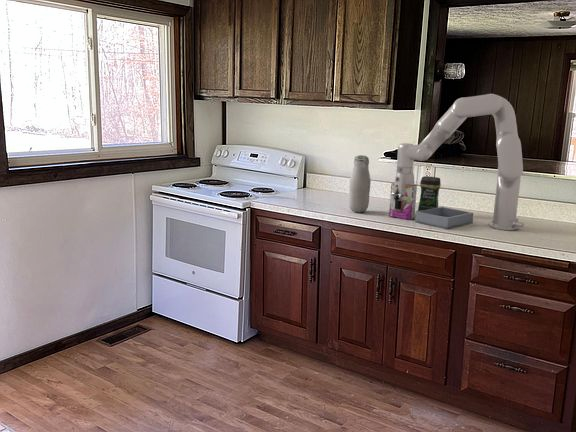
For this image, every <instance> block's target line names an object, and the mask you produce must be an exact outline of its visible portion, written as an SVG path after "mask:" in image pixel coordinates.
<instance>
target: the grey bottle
mask: <svg viewBox="0 0 576 432" xmlns="http://www.w3.org/2000/svg"><path fill="white" fill-rule="evenodd" d="M353 164H354V165H353V167H352V172H351V174H350V178H349V187H348V190H349V191H348V207H349V209H350V210H351V211H352V212H355V213H365V212H366V211H367V210H368V208H369V206H370V205H369V204H370V194H371V193H370V191H371V182H372V181H371V175H370V169H369V164H370V159H369V157H368V156H367V155H360V154H359V155H356V156H354V159H353Z"/></svg>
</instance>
